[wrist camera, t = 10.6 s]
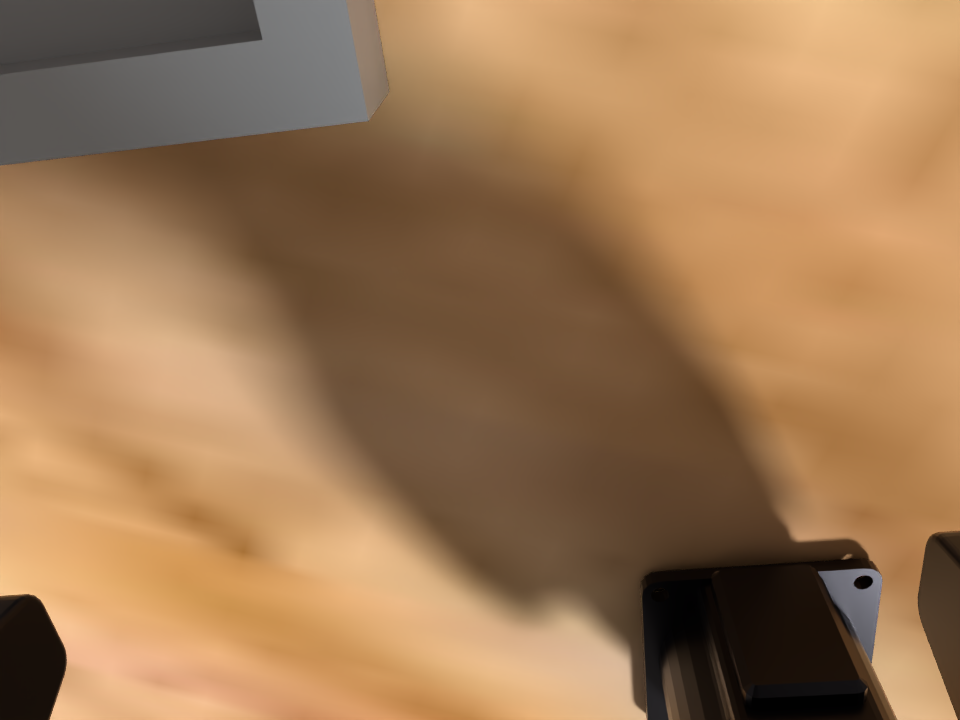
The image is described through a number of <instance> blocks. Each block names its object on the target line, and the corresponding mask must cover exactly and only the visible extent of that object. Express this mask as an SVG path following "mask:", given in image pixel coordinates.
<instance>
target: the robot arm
mask: <svg viewBox="0 0 960 720" xmlns="http://www.w3.org/2000/svg"><path fill="white" fill-rule="evenodd" d="M863 575H866V576H864V577H863V578H861V579H857V578H858V577H860V576H863ZM659 588H662V589H664V590H663V591H659V592H656V591H654V590H655V589H659ZM881 588H882V576H881V574H880V572H879V570H878V568H877V567H876V565H875V564H874V563H873V562H872V561H870V560H868V559H845V560H829V561H814V562H798V563H783V564H768V565H752V566H737V567H722V568H706V569H691V570H676V571H660V572H654V573H650V574H648V575H647V576H645V577H644V578H643V579H642V581H641V585H640V593H641V614H642V635H643V656H644V677H645V698H646V717H647V720H897V718H896V716H895V714H894V712H893V710H892V707H891V705H890V703H889V701H888V699H887V697H886V695H885V692H884V690H883V688H882V686H881V684H880V682H879V680H878V677H877V675H876V673H875V671H874V669H873V667H872V665H871V663H872V656H873V648H874V641H875V633H876V626H877V618H878V610H879V603H880V595H881ZM918 609H919V615H920V619H921V622H922V625H923V628H924V631H925V633H926V636H927V639H928V641H929V644H930V647H931V649H932V652H933V655H934V657H935V660H936V663H937V665H938V668H939V671H940V673H941V676H942V679H943V681H944V684H945V687H946V689H947V692H948V695H949V697H950V700H951V702H952V705H953V708H954V710H955V713H956V716H957V718H958V720H960V531H950V532H938V533H935V534H933V535H931V536H930V537H929V539H928V541H927V544H926V547H925V554H924V560H923V567H922V573H921V580H920V586H919V593H918ZM66 664H67V659H66V651H65V647H64V645H63V643H62V641H61V639H60V637H59V635H58V633H57V631H56V629H55V627H54V625H53V623H52V621H51V619H50V617H49V615H48V613H47V611H46V609H45V607H44V605H43V603H42V602H41V600H40V599H38V598H37V597H36V596H34V595H30V594H23V595H8V596H0V720H50V717H51V714H52V711H53V708H54V705H55V702H56V699H57V696H58V693H59V690H60V687H61V684H62V681H63V678H64V675H65V670H66Z"/></svg>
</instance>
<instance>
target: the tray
mask: <svg viewBox="0 0 960 720" xmlns="http://www.w3.org/2000/svg"><path fill="white" fill-rule="evenodd" d="M389 92H390V91H389V85H388V80H387V74H386V68H385V62H384V56H383V50H382V45H381V39H380V33H379V27H378V21H377V15H376V10H375V4H374V0H0V165H8V164H17V163H25V162H33V161H42V160H50V159H58V158H66V157H75V156H83V155H91V154H100V153H108V152H116V151H124V150H133V149H141V148H149V147H158V146H166V145H174V144H182V143H191V142H199V141H207V140H216V139H224V138H232V137H240V136H249V135H257V134H265V133H274V132H282V131H290V130H298V129H307V128H315V127H323V126H332V125H340V124H348V123H356V122H365V121H369V120H370V118H371V117H372V116H373V114H374V113H375V111H376V110H377V109H378V107H379V106H380V104H381V103H382V102H383V100H384V99H385V97H386V96H387V95H388V93H389Z"/></svg>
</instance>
